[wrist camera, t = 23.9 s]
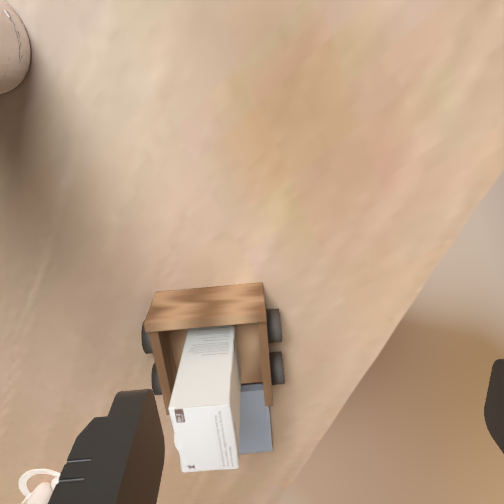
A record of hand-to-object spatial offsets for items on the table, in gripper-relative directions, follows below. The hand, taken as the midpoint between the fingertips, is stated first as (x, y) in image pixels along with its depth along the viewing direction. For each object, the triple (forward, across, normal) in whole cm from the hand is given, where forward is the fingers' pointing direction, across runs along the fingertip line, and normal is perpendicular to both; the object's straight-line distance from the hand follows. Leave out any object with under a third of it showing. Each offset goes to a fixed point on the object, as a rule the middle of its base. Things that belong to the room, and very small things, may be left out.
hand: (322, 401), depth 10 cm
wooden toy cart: (+36, +7, +24) cm, 44 cm away
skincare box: (+35, +7, +24) cm, 43 cm away
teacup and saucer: (+37, +34, +50) cm, 71 cm away
